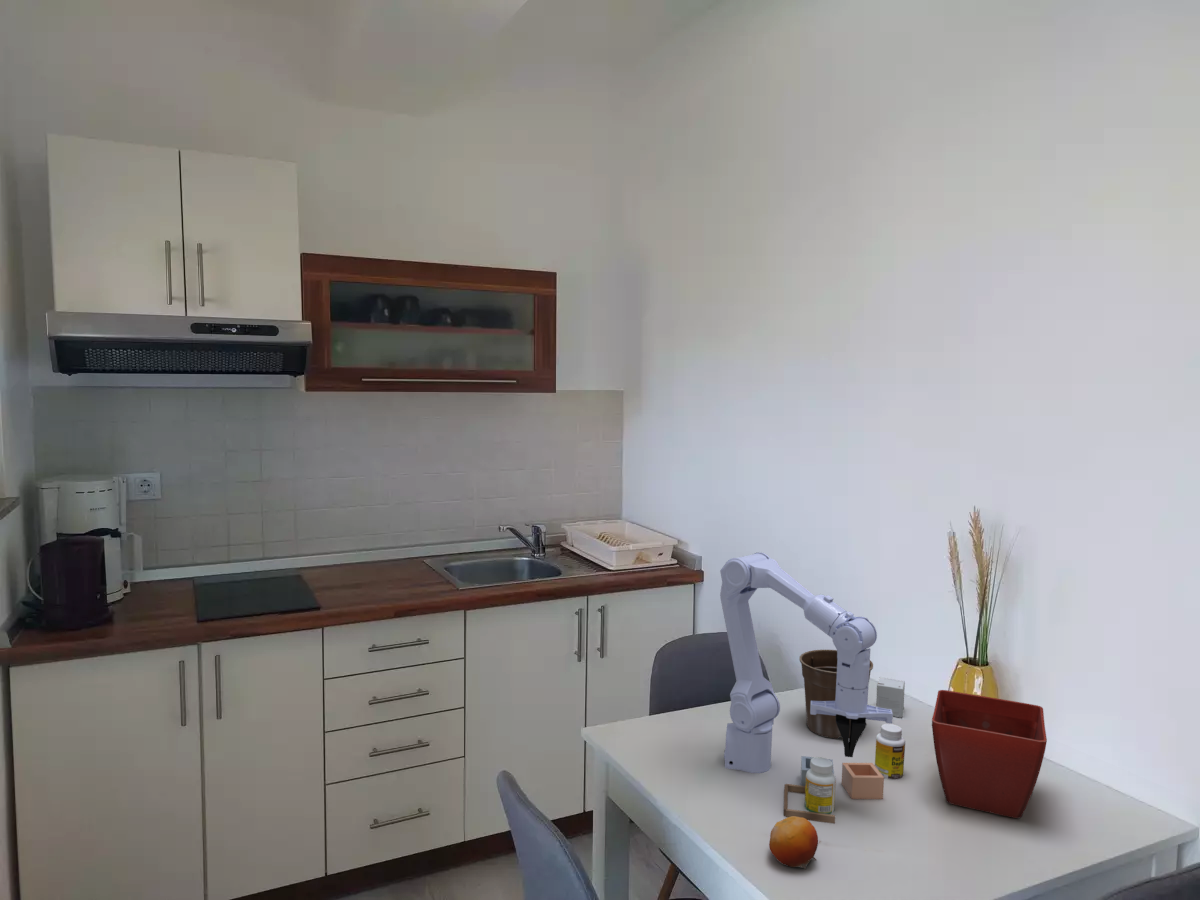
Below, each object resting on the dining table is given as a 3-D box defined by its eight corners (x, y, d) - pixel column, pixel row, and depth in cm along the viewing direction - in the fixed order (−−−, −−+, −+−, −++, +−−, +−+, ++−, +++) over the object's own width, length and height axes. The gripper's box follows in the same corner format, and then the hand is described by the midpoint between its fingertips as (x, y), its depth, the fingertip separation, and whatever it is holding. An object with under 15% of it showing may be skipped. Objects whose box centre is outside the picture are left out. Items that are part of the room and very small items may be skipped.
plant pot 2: (934, 765, 173) (938, 687, 171) (1037, 787, 165) (1043, 705, 163) (926, 807, 156) (931, 720, 154) (1040, 833, 147) (1047, 742, 146)
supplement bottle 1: (826, 822, 150) (828, 771, 149) (799, 812, 153) (801, 762, 152) (838, 811, 154) (841, 761, 153) (812, 801, 157) (814, 752, 156)
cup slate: (800, 794, 160) (801, 769, 159) (800, 779, 165) (801, 755, 165) (832, 798, 158) (834, 773, 158) (831, 783, 164) (832, 759, 164)
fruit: (820, 874, 131) (797, 825, 133) (778, 884, 135) (756, 836, 137) (835, 850, 138) (812, 804, 140) (794, 860, 142) (773, 815, 144)
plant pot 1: (785, 731, 188) (788, 662, 187) (811, 708, 202) (814, 644, 200) (856, 750, 179) (860, 678, 178) (878, 725, 192) (882, 658, 191)
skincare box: (903, 709, 202) (905, 680, 202) (901, 718, 197) (903, 688, 196) (877, 705, 205) (879, 676, 204) (875, 714, 199) (876, 684, 199)
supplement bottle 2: (891, 785, 164) (894, 735, 163) (868, 774, 169) (870, 725, 168) (909, 778, 167) (911, 729, 166) (886, 767, 172) (888, 719, 171)
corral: (783, 820, 150) (784, 810, 150) (784, 793, 160) (784, 783, 160) (834, 827, 148) (835, 816, 148) (831, 799, 158) (832, 789, 158)
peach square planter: (851, 802, 157) (852, 777, 156) (841, 787, 163) (842, 762, 162) (882, 802, 157) (884, 777, 157) (871, 787, 163) (872, 762, 163)
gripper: (812, 687, 151) (808, 759, 152) (896, 696, 147) (891, 769, 149) (811, 674, 158) (808, 742, 159) (891, 682, 154) (887, 752, 155)
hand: (848, 754), depth 154 cm, fingers closed
